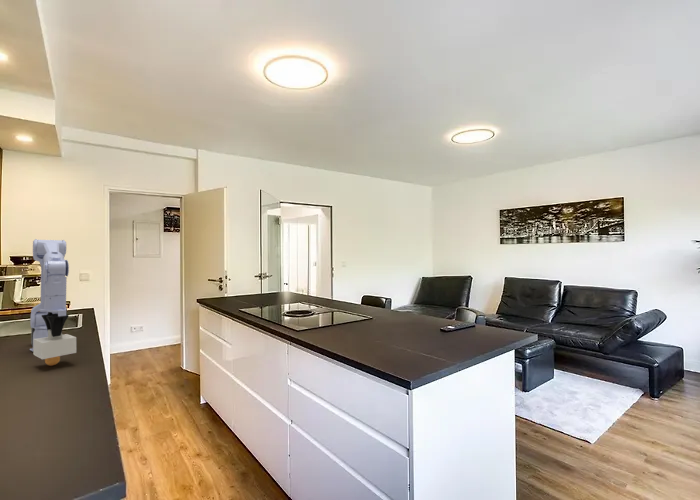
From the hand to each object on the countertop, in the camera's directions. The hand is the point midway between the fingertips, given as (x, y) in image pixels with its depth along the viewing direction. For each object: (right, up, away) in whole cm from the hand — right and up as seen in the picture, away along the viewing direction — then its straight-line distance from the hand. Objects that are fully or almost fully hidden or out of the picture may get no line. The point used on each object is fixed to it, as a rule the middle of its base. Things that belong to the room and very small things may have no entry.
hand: (54, 335), depth 122 cm
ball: (-1, -8, +1) cm, 9 cm away
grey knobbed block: (0, -6, 0) cm, 6 cm away
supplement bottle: (-30, -11, +29) cm, 43 cm away
